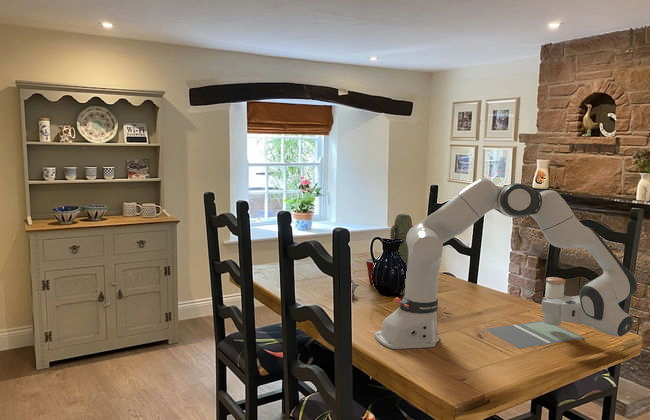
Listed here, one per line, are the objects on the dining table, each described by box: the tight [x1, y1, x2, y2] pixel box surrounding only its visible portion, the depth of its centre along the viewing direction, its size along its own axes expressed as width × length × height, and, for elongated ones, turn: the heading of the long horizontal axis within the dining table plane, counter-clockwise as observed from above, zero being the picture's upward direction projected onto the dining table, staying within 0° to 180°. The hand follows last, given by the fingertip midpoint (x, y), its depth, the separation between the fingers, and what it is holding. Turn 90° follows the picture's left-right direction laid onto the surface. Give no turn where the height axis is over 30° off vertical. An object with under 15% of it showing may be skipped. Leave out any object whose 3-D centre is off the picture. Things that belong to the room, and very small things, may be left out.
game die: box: [350, 276, 360, 296], centre depth 223 cm, size 9×8×10 cm
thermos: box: [389, 213, 414, 296], centre depth 229 cm, size 9×12×35 cm
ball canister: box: [542, 276, 566, 326], centre depth 184 cm, size 6×6×16 cm
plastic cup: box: [365, 257, 373, 286], centre depth 241 cm, size 11×11×12 cm
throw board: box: [483, 320, 585, 350], centre depth 183 cm, size 29×18×1 cm, turn 112°
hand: (551, 298), depth 185 cm, fingers closed on ball canister, 6 cm apart
